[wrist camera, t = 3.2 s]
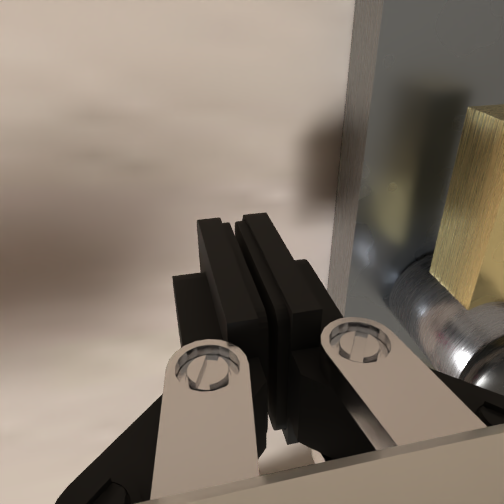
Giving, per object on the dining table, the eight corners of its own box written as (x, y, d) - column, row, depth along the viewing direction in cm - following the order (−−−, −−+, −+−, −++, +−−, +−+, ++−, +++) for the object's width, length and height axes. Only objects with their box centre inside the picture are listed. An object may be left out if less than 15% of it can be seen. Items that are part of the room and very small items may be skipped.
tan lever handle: (459, 318, 17) (554, 418, 14) (380, 332, 17) (456, 440, 13) (524, 95, 13) (690, 148, 9) (422, 102, 12) (554, 162, 9)
